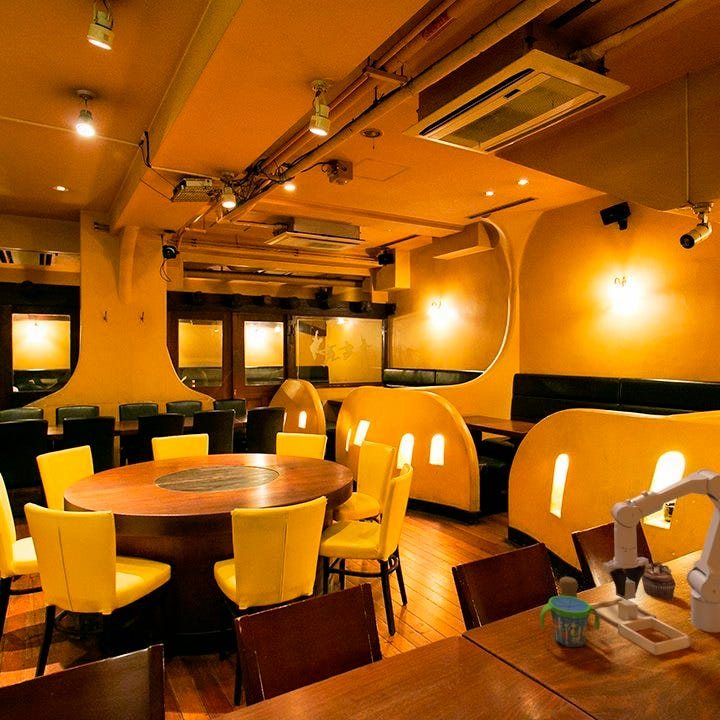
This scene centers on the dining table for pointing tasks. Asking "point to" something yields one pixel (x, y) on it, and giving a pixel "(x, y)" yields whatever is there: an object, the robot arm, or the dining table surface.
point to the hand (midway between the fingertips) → (626, 593)
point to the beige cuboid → (627, 610)
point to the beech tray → (614, 611)
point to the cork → (568, 586)
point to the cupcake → (658, 581)
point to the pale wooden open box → (673, 644)
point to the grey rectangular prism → (629, 590)
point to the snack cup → (569, 619)
